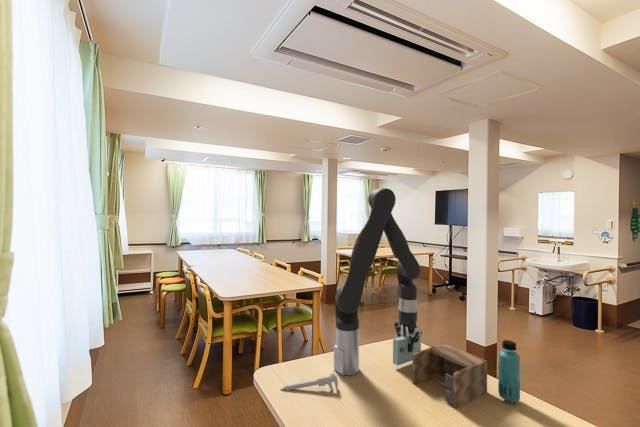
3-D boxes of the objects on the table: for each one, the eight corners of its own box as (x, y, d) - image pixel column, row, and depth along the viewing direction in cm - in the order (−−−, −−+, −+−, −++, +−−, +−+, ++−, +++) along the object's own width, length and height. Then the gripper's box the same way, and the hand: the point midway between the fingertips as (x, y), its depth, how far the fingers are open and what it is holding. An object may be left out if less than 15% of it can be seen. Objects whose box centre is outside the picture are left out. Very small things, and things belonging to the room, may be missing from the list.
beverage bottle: (517, 397, 109) (517, 339, 109) (523, 408, 103) (523, 346, 103) (496, 393, 111) (496, 336, 111) (500, 404, 105) (500, 344, 105)
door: (423, 358, 135) (423, 334, 135) (399, 366, 127) (400, 341, 127) (416, 355, 138) (416, 332, 138) (392, 363, 130) (393, 338, 130)
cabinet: (455, 408, 103) (455, 374, 103) (412, 383, 118) (412, 353, 118) (487, 392, 113) (487, 360, 113) (443, 370, 128) (443, 343, 128)
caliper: (337, 389, 115) (337, 372, 115) (337, 391, 114) (337, 373, 114) (281, 389, 115) (281, 371, 115) (280, 391, 114) (280, 373, 114)
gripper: (389, 306, 137) (388, 346, 137) (414, 315, 125) (414, 359, 125) (401, 303, 141) (401, 342, 141) (427, 312, 129) (427, 354, 129)
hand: (407, 350), depth 133 cm, fingers closed on door, 2 cm apart
